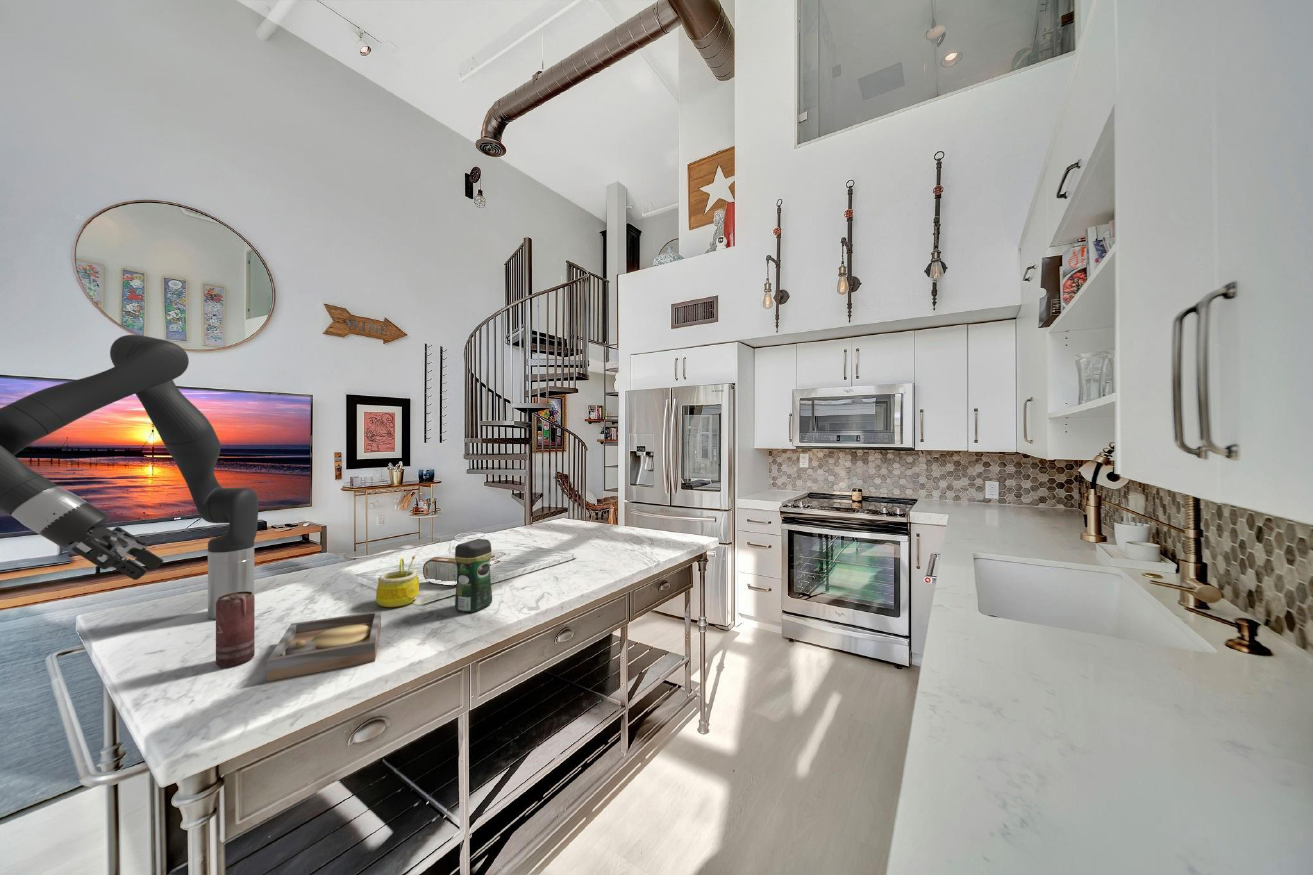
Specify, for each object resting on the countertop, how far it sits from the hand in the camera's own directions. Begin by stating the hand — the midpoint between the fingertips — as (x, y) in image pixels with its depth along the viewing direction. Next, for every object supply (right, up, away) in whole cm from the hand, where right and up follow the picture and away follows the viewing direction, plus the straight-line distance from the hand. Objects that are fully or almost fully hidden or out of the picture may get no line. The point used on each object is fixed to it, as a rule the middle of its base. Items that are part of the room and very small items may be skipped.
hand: (151, 570), depth 92 cm
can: (+10, -21, +7) cm, 25 cm away
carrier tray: (+27, -21, +12) cm, 36 cm away
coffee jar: (+48, -21, +39) cm, 65 cm away
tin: (+31, -21, +58) cm, 69 cm away
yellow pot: (+26, -21, +43) cm, 54 cm away
